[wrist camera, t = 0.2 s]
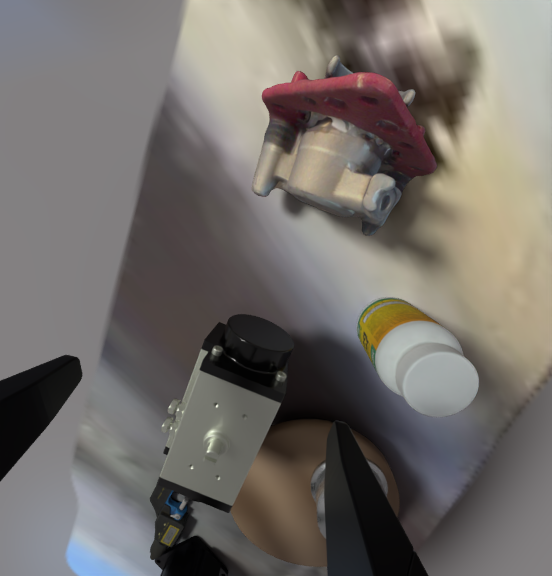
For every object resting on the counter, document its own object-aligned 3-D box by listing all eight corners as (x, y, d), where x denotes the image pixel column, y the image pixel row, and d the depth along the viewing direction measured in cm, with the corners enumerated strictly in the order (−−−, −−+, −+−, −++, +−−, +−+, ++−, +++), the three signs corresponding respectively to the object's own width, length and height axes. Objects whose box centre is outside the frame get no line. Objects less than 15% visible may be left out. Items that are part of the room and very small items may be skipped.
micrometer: (160, 478, 28) (203, 499, 28) (168, 462, 30) (208, 482, 30) (119, 552, 31) (159, 571, 31) (129, 533, 32) (167, 551, 33)
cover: (337, 524, 26) (344, 577, 22) (295, 474, 25) (295, 520, 21) (400, 495, 25) (420, 545, 21) (359, 441, 24) (372, 483, 20)
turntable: (292, 570, 30) (290, 645, 24) (199, 467, 27) (176, 524, 22) (425, 511, 26) (457, 582, 21) (333, 389, 24) (343, 434, 19)
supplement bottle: (429, 331, 24) (513, 399, 15) (375, 362, 25) (422, 445, 16) (396, 283, 23) (463, 321, 14) (343, 317, 24) (371, 374, 15)
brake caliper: (469, 72, 17) (520, 144, 10) (376, 209, 26) (366, 304, 18) (306, 1, 17) (232, 20, 10) (267, 163, 26) (211, 239, 18)
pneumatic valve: (297, 308, 24) (296, 383, 13) (251, 411, 27) (216, 551, 15) (239, 284, 24) (186, 339, 13) (199, 390, 27) (125, 515, 15)
